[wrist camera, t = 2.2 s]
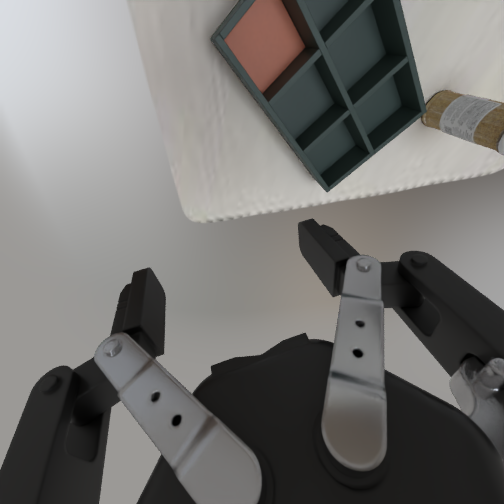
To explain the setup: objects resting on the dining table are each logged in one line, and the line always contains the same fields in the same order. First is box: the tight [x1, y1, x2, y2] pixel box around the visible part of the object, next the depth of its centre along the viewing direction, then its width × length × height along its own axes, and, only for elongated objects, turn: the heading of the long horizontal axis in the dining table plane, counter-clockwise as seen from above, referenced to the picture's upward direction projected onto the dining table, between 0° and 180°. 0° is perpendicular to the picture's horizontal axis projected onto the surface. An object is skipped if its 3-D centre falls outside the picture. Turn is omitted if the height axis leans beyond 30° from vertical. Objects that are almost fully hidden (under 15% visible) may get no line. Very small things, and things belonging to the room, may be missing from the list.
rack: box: [210, 0, 427, 192], centre depth 27 cm, size 15×22×4 cm
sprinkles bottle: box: [422, 90, 504, 155], centre depth 29 cm, size 5×5×13 cm
